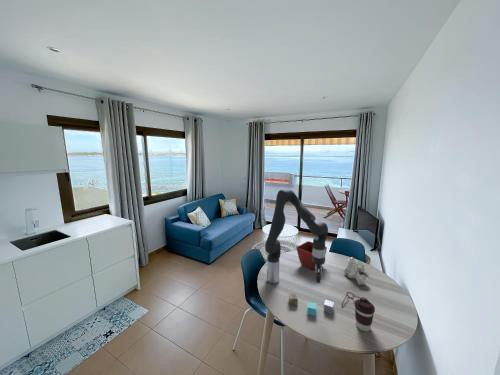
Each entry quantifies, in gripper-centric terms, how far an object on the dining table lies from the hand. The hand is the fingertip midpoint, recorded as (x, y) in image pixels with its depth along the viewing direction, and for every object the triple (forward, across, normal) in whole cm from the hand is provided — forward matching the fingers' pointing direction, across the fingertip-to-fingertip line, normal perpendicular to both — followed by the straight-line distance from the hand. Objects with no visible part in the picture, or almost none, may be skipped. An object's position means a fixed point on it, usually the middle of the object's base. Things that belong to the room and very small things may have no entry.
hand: (318, 278), depth 127 cm
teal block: (+20, +5, -3) cm, 21 cm away
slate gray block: (+20, 0, +7) cm, 21 cm away
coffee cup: (+20, +8, +24) cm, 33 cm away
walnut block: (+20, 0, -15) cm, 25 cm away
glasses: (+21, -8, +23) cm, 32 cm away
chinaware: (+21, -43, +29) cm, 56 cm away
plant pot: (+20, -51, -5) cm, 55 cm away
